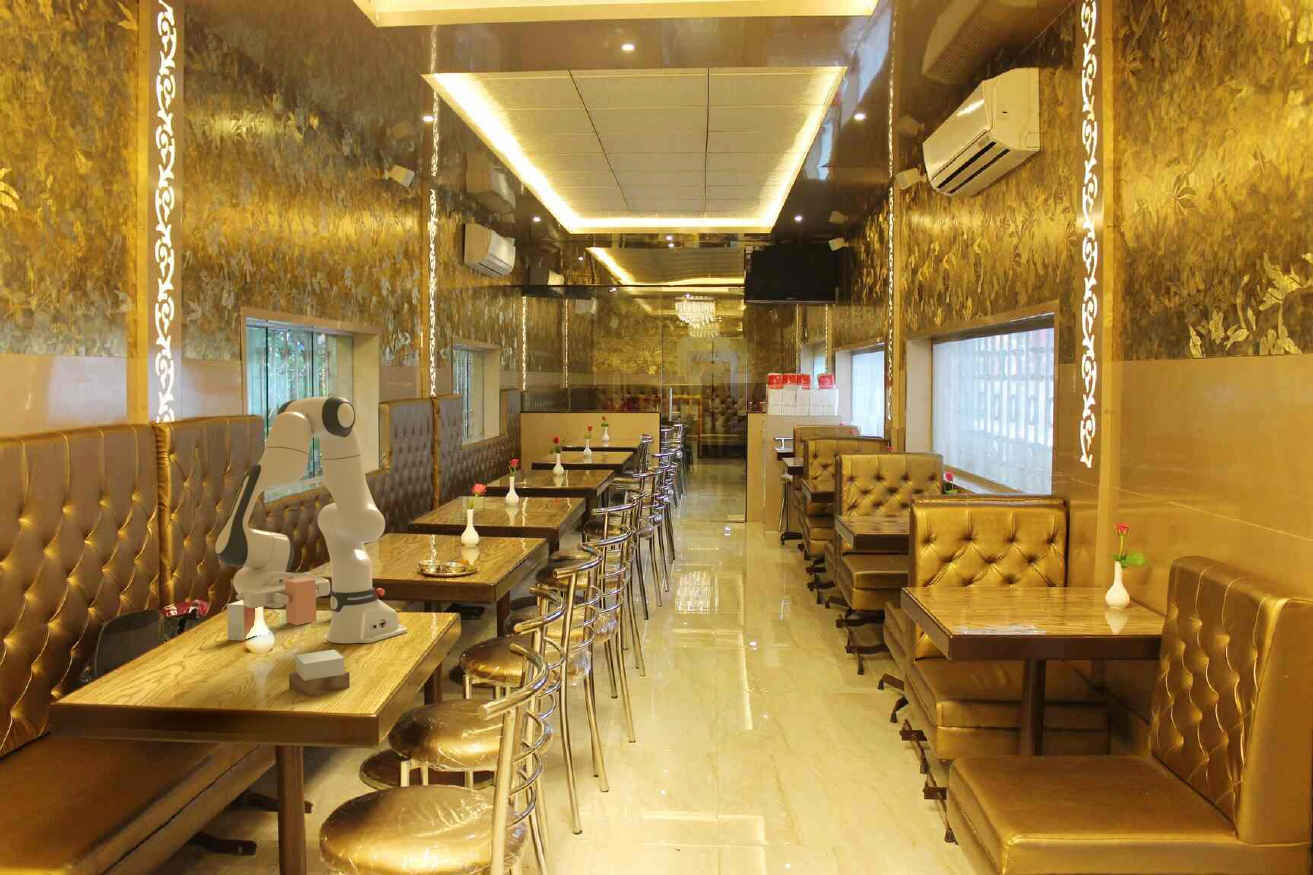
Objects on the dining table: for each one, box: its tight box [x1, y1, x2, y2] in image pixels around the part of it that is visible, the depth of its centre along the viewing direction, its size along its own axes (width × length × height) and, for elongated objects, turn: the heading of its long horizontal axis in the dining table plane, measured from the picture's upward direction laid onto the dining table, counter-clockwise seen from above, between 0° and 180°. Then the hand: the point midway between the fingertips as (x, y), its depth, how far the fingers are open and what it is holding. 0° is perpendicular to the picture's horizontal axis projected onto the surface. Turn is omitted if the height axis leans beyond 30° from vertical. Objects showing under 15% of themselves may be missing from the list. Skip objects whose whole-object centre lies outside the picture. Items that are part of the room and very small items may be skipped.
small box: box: [226, 600, 255, 642], centre depth 267 cm, size 8×6×10 cm
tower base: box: [288, 670, 351, 698], centre depth 220 cm, size 10×10×4 cm
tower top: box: [295, 649, 345, 681], centre depth 219 cm, size 9×9×4 cm
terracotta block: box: [285, 577, 317, 626], centre depth 219 cm, size 5×5×10 cm
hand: (302, 596), depth 219 cm, fingers closed on terracotta block, 5 cm apart
